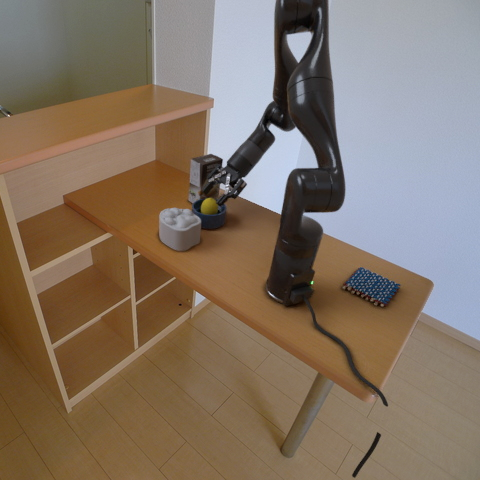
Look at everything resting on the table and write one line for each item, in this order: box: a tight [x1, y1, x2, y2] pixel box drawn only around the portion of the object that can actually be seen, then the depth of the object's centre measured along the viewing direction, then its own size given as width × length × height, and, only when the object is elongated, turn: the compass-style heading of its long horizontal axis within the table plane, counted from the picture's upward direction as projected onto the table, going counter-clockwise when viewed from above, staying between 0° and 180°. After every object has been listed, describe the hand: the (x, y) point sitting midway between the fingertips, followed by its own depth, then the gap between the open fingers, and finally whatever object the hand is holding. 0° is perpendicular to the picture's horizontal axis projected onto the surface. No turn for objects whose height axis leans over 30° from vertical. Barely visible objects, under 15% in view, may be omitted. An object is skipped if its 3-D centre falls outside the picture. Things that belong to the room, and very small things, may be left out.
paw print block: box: [158, 207, 202, 252], centre depth 109 cm, size 10×13×9 cm
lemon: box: [201, 198, 218, 215], centre depth 116 cm, size 6×6×8 cm
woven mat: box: [342, 266, 402, 308], centre depth 91 cm, size 10×11×2 cm
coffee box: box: [188, 153, 224, 204], centre depth 125 cm, size 9×6×16 cm
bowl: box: [191, 198, 228, 230], centre depth 117 cm, size 11×11×6 cm
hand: (210, 198), depth 114 cm, fingers open, 8 cm apart
